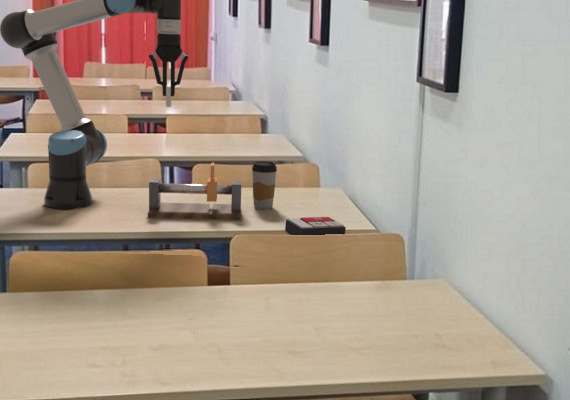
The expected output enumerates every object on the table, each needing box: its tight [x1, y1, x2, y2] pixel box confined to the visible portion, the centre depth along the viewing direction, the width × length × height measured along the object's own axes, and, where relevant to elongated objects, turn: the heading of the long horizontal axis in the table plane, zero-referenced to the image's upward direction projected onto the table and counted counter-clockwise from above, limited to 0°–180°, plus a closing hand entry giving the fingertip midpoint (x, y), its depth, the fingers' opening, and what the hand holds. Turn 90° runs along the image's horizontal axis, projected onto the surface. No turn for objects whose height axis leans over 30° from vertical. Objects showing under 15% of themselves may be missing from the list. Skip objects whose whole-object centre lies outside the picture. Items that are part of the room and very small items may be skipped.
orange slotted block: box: [206, 162, 218, 203], centre depth 261 cm, size 3×6×11 cm, turn 3°
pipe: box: [148, 177, 242, 213], centre depth 262 cm, size 29×6×9 cm, turn 93°
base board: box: [147, 202, 242, 221], centre depth 263 cm, size 29×14×2 cm, turn 93°
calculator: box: [284, 216, 347, 236], centre depth 246 cm, size 11×4×15 cm
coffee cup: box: [251, 160, 278, 210], centre depth 272 cm, size 8×8×15 cm
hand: (168, 106), depth 268 cm, fingers closed
